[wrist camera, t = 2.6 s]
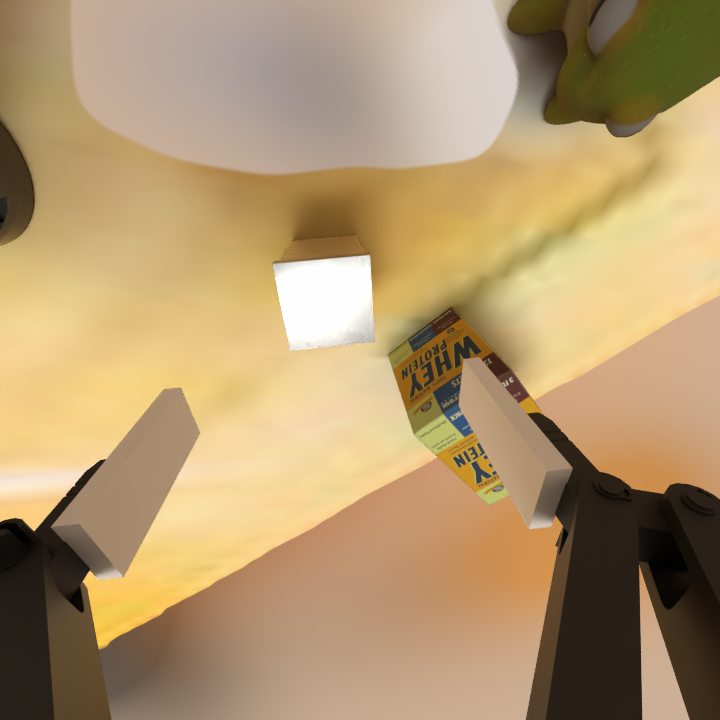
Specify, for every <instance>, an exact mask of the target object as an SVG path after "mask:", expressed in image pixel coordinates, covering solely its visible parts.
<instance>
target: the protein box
mask: <svg viewBox="0 0 720 720" xmlns="http://www.w3.org/2000/svg"><path fill="white" fill-rule="evenodd" d="M388 356H389V359H390V363H391V366H392V369H393V372H394V375H395V378H396V381H397V384H398V387H399V390H400V393H401V396H402V399H403V402H404V405H405V409H406V412H407V415H408V418H409V421H410V424H411V427H412V430H413V433H414V435H415V436H416V437H417V438H418V439H419V440H420V441H421V442H422V443H423V444H424V445H425V446H426V447H427V448H428V449H429V450H431V451H432V452H433V453H434V454H435V455H436V456H437V457H438V458H439V459H440V460H441V461H442V462H443V463H444V464H445V465H446V466H448V467H449V468H450V469H451V470H452V471H453V472H454V473H455V474H456V475H457V476H458V477H459V478H460V479H462V481H463V482H464V483H466V484H467V485H468V486H469V487H470V488H471V489H472V490H473V491H474V492H475V493H476V494H477V495H478V496H479V497H480V498H482V499H483V500H484V501H485V502H486V503H487V504H488V505H491V504H493V503H495V502H497V501H499V500H501V499H502V498H504V497H506V496H508V495H509V494H508V492H507V490H506V489H505V487H504V485H503V483H502V481H501V480H500V478H499V476H498V474H497V473H496V471H495V469H494V467H493V466H492V464H491V462H490V460H489V458H488V457H487V455H486V453H485V451H484V450H483V448H482V446H481V444H480V443H479V441H478V439H477V437H476V436H475V434H474V432H473V430H472V428H471V427H470V425H469V423H468V421H467V420H466V418H465V416H464V414H463V413H462V411H461V409H460V407H459V398H460V388H461V378H462V368H463V359H469V358H478V357H480V359H481V360H482V361H483V362H484V363H485V365H486V366H487V367H488V368H489V369H490V370H491V372H492V373H493V374H494V375H495V376H496V378H497V379H498V380H499V381H500V382H501V384H502V385H503V386H504V387H505V388H506V389H507V391H508V392H509V393H510V394H511V395H512V397H513V398H514V399H515V400H516V401H517V403H518V404H519V405H520V406H521V407H522V408H523V410H524V411H525V412H526V413H535V412H539V413H541V414H542V415H544V414H543V413H542V411H541V410H540V409H539V407H538V406H537V404H536V403H535V402H534V400H533V399H532V397H531V396H530V395H529V393H528V392H527V390H526V389H525V388H524V386H523V385H522V383H521V382H520V381H519V379H518V378H517V376H516V375H515V374H514V372H513V371H512V369H511V368H510V367H509V366H508V365H507V364H506V363H505V362H504V361H503V360H502V359H501V358H500V357H499V356H498V355H497V354H496V352H495V351H494V350H493V349H492V348H491V347H490V346H489V345H488V344H487V343H486V342H485V341H484V340H483V339H482V338H481V337H480V336H479V335H478V334H477V333H476V332H475V330H474V329H473V328H472V327H471V326H470V325H469V324H468V323H467V322H466V321H465V320H464V319H463V318H462V317H461V316H460V315H459V314H458V313H457V312H456V311H455V310H454V309H453V308H450V309H449V310H447V311H446V312H445V313H443V314H442V315H441V316H439V317H438V318H437V319H435V320H434V321H433V322H431V323H430V324H429V325H427V326H426V327H425V328H423V329H422V330H421V331H419V332H418V333H417V334H415V335H414V336H413V337H411V338H410V339H409V340H407V341H406V342H405V343H403V344H402V345H401V346H399V347H398V348H397V349H395V350H394V351H393V352H391V353H390V354H389V355H388Z"/></svg>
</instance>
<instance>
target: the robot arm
mask: <svg viewBox="0 0 720 720" xmlns="http://www.w3.org/2000/svg"><path fill="white" fill-rule="evenodd" d="M32 210H33V190H32V184H31V180H30V176H29V173H28V170H27V167H26V165H25V162H24V160H23V158H22V156H21V153H20V152H19V150H18V148H17V146H16V144H15V143H14V141H13V140H12V138H11V136H10V135H9V134H8V132H7V131H6V129H5V128H4V127H3V125H2V124H1V123H0V245H4V244H6V243H9V242H11V241H12V240H14V239H15V238H17V237H18V236H19V235H20V234H21V233H22V232H23V231H24V230H25V228H26V227H27V225H28V223H29V221H30V218H31V215H32ZM459 407H460V409H461V411H462V413H463V414H464V416H465V418H466V420H467V421H468V423H469V425H470V427H471V428H472V430H473V432H474V434H475V436H476V437H477V439H478V441H479V443H480V444H481V446H482V448H483V450H484V451H485V453H486V455H487V457H488V458H489V460H490V462H491V464H492V466H493V467H494V469H495V471H496V473H497V474H498V476H499V478H500V480H501V481H502V483H503V485H504V487H505V489H506V490H507V492H508V494H509V496H510V497H511V499H512V501H513V503H514V504H515V506H516V508H517V510H518V511H519V513H520V515H521V516H522V519H523V520H524V522H525V524H526V526H527V527H528V529H534V528H542V527H551V526H552V523H553V520H554V517H555V515H556V516H557V518H558V519H559V521H560V522H561V524H562V525H563V528H562V530H561V533H560V535H559V538H558V540H557V543H556V546H557V547H558V550H557V556H556V561H555V567H554V572H553V577H552V583H551V588H550V593H549V598H548V604H547V609H546V615H545V621H544V626H543V631H542V636H541V641H540V648H539V652H538V658H537V663H536V668H535V674H534V679H533V684H532V690H531V695H530V700H529V706H528V711H527V717H526V720H642V684H641V636H640V592H639V591H640V589H639V565H640V568H641V571H642V574H643V577H644V581H645V584H646V587H647V590H648V593H649V596H650V599H651V602H652V605H653V608H654V611H655V614H656V617H657V620H658V624H659V627H660V630H661V633H662V636H663V639H664V642H665V645H666V648H667V651H668V654H669V657H670V660H671V663H672V666H673V670H674V673H675V676H676V679H677V682H678V685H679V688H680V691H681V694H682V697H683V700H684V703H685V706H686V710H687V712H688V716H689V719H690V720H720V499H718V498H717V497H716V496H714V495H713V494H711V493H709V492H707V491H705V490H703V489H701V488H698V487H695V486H692V485H689V484H680V483H676V484H672V485H670V486H669V487H668V488H667V490H666V491H665V493H664V494H660V493H654V492H647V491H641V490H635V489H631V487H630V486H629V485H628V484H626V483H625V482H623V481H622V480H621V479H619V478H617V477H615V476H612V475H610V474H607V473H603V472H599V471H598V470H597V469H596V468H595V467H594V466H593V464H592V463H591V462H590V461H589V460H588V459H587V458H586V457H585V456H584V455H583V454H582V453H581V451H580V450H579V449H578V448H577V447H576V446H575V445H574V444H573V443H572V442H571V441H569V440H568V437H566V435H565V434H564V433H563V432H561V430H560V429H559V428H558V427H557V426H556V425H555V423H554V422H553V421H552V420H550V419H549V418H547V417H545V416H544V415H542V414H541V413H539V412H535V413H526V412H525V411H524V410H523V408H522V407H521V406H520V405H519V404H518V403H517V401H516V400H515V399H514V398H513V397H512V395H511V394H510V393H509V392H508V391H507V389H506V388H505V387H504V386H503V385H502V384H501V382H500V381H499V380H498V379H497V378H496V376H495V375H494V374H493V373H492V372H491V370H490V369H489V368H488V367H487V366H486V365H485V363H484V362H483V361H482V360H481V359H480V357H478V358H469V359H463V368H462V378H461V388H460V398H459ZM199 434H200V431H199V429H198V427H197V424H196V422H195V420H194V417H193V415H192V413H191V410H190V408H189V406H188V403H187V401H186V399H185V396H184V394H183V392H182V389H181V388H172V389H164V390H163V391H162V392H161V393H160V395H159V396H158V397H157V398H156V400H155V401H154V402H153V403H152V404H151V406H150V407H149V408H148V409H147V410H146V412H145V413H144V414H143V415H142V417H141V418H140V419H139V420H138V421H137V423H136V424H135V425H134V426H133V428H132V429H131V430H130V431H129V432H128V434H127V435H126V436H125V437H124V438H123V440H122V441H121V442H120V443H119V445H118V446H117V447H116V448H115V449H114V451H113V452H112V453H111V454H110V456H109V457H108V458H107V459H104V460H100V461H99V462H97V463H96V464H95V465H94V466H92V467H91V468H90V469H88V470H87V471H86V472H85V473H84V474H83V475H82V477H81V478H80V479H79V480H78V481H77V482H76V484H75V486H73V487H72V488H71V489H70V491H69V492H68V493H67V494H66V497H64V498H63V499H62V500H61V501H60V502H59V503H58V505H57V506H56V507H55V508H54V509H53V510H52V512H51V513H50V514H49V515H48V516H47V517H46V519H45V520H44V521H43V522H42V523H41V524H40V525H39V527H38V528H37V529H36V530H35V531H33V530H32V529H31V528H30V527H29V526H28V525H27V524H26V523H25V522H24V521H23V520H22V519H17V518H13V519H8V520H4V521H2V522H0V720H111V715H110V710H109V705H108V699H107V693H106V688H105V683H104V677H103V672H102V666H101V661H100V656H99V650H98V645H97V639H96V634H95V628H94V623H93V617H92V612H91V606H90V601H89V596H88V590H87V587H86V586H85V584H84V583H83V582H82V581H83V580H84V578H85V577H86V575H87V573H88V572H89V570H90V571H91V572H92V573H93V574H94V575H95V576H96V577H97V578H98V579H99V580H103V579H112V578H120V577H124V575H125V574H126V572H127V570H128V568H129V566H130V564H131V562H132V560H133V558H134V557H135V555H136V553H137V551H138V549H139V547H140V545H141V543H142V542H143V540H144V538H145V536H146V534H147V532H148V530H149V528H150V527H151V525H152V523H153V521H154V519H155V517H156V515H157V513H158V511H159V510H160V508H161V506H162V504H163V502H164V500H165V498H166V496H167V495H168V493H169V491H170V489H171V487H172V485H173V483H174V481H175V480H176V478H177V476H178V474H179V472H180V470H181V468H182V466H183V464H184V463H185V461H186V459H187V457H188V455H189V453H190V451H191V449H192V448H193V446H194V444H195V442H196V440H197V438H198V436H199Z"/></svg>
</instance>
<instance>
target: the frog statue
mask: <svg viewBox="0 0 720 720" xmlns="http://www.w3.org/2000/svg"><path fill="white" fill-rule="evenodd" d="M508 25H509V27H510V29H511V30H512V31H514V32H516V33H521V34H538V33H544V32H549V31H554V30H559V29H561V30H562V31H563V32H564V33H565V36H566V40H567V48H568V55H567V57H566V59H565V61H564V63H563V66H562V68H561V71H560V73H559V76H558V80H557V94H556V95H555V96H554V97H553V99H552V100H551V101H550V103H549V104H548V106H547V109H546V111H545V120H546V122H547V123H549V124H554V125H560V124H569V123H573V122H577V121H581V120H582V121H585V122H591V123H598V124H606V127H607V129H608V131H609V132H610V133H611V134H612V135H613V136H615V137H629V136H632V135H634V134H636V133H638V132H640V131H641V130H642V129H643V128H645V127H646V126H647V125H648V124H649V123H650V122H651V121H652V120H653V119H654V118H655V116H656V115H657V114H659V113H661V112H664V111H666V110H667V109H669V108H671V107H672V106H674V105H676V104H677V103H679V102H680V101H682V100H683V99H685V98H687V97H688V96H690V95H691V94H693V93H694V92H696V91H697V90H699V89H700V88H702V87H703V86H705V85H707V84H708V83H710V82H711V81H713V80H714V79H716V78H717V77H719V76H720V0H518V2H517V3H516V4H515V6H514V7H513V9H512V11H511V13H510V15H509V18H508Z"/></svg>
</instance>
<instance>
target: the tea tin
mask: <svg viewBox="0 0 720 720" xmlns="http://www.w3.org/2000/svg"><path fill="white" fill-rule="evenodd" d="M272 265H273V270H274V275H275V280H276V285H277V289H278V294H279V299H280V304H281V309H282V314H283V318H284V323H285V328H286V333H287V338H288V343H289V347H290V351H291V350H301V349H311V348H321V347H331V346H341V345H351V344H361V343H370V342H375V338H374V319H373V301H372V283H371V265H370V254H369V253H365V252H364V250H363V248H362V245H361V243H360V241H359V239H358V237H357V235H349V236H338V237H327V238H315V239H304V240H293V241H292V242H291V244H290V245H289V247H288V248H287V250H286V251H285V253H284V254H283V256H282V257H281V259H280V260H279V261H274V262H273V264H272Z"/></svg>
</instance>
